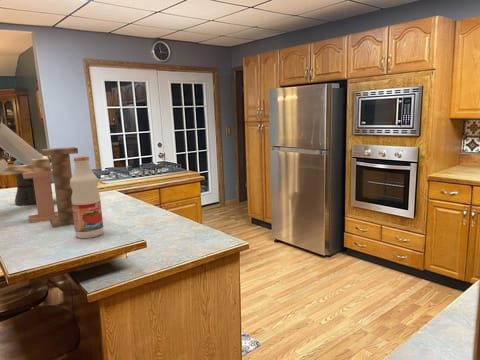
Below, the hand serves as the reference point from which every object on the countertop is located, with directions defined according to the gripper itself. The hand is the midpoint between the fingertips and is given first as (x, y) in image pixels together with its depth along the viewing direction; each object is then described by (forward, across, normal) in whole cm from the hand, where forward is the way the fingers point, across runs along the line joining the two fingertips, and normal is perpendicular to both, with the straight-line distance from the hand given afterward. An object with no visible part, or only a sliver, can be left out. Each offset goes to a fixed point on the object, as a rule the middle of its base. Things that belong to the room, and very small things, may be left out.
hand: (6, 162), depth 145 cm
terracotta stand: (-2, 0, -28) cm, 28 cm away
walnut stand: (+3, +14, -31) cm, 34 cm away
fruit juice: (+6, +37, -33) cm, 50 cm away
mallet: (+2, 0, -7) cm, 7 cm away
